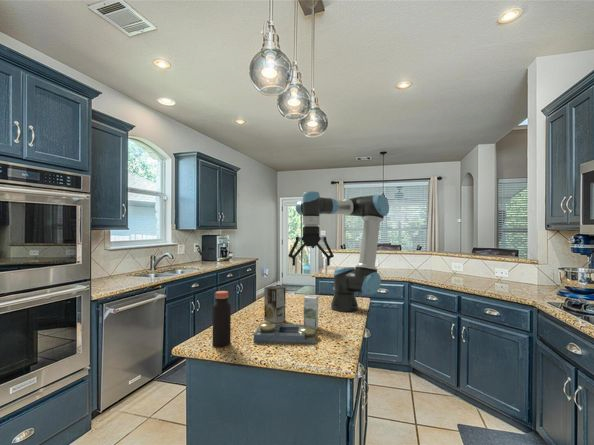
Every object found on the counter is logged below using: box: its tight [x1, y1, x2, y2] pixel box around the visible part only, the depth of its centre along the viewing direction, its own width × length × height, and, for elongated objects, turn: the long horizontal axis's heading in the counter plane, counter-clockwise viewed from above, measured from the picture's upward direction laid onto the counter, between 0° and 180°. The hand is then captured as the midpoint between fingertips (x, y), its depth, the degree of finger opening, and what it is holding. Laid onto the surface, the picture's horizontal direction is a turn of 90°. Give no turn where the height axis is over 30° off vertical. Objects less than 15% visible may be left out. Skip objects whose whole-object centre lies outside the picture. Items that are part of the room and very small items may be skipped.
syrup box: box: [303, 294, 319, 331], centre depth 141 cm, size 6×6×14 cm
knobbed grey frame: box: [253, 321, 306, 344], centre depth 130 cm, size 20×15×5 cm
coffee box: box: [263, 285, 286, 324], centre depth 154 cm, size 9×6×16 cm
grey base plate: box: [268, 326, 317, 345], centre depth 129 cm, size 18×15×4 cm
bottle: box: [212, 290, 232, 348], centre depth 121 cm, size 7×7×20 cm
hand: (311, 273), depth 141 cm, fingers open, 13 cm apart
